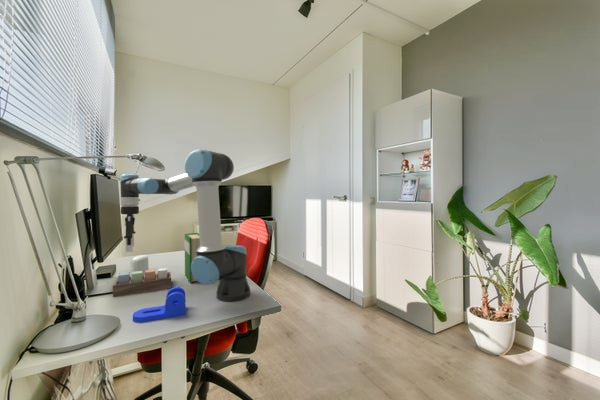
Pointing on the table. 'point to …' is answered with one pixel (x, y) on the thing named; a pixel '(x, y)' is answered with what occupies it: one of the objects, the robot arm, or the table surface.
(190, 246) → the hardback book
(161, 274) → the white cube
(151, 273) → the peach cube
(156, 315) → the bracket
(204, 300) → the table surface
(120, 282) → the light blue cube
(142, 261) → the photo printer
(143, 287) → the wooden compartment tray
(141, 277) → the light green cube
